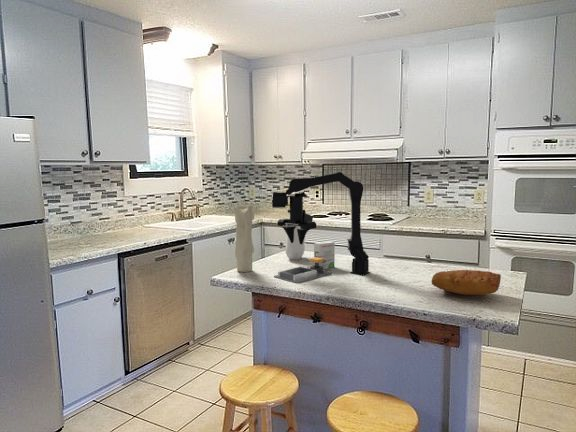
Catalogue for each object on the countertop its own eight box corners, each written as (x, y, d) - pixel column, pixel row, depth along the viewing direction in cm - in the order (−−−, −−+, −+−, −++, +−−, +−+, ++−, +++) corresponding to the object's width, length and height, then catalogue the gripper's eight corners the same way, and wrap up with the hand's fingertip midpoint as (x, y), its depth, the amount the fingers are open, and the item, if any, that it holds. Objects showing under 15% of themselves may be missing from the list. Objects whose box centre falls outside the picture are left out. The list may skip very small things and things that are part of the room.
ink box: (328, 265, 196) (328, 240, 195) (335, 267, 192) (335, 242, 191) (313, 268, 192) (313, 242, 190) (320, 270, 188) (320, 244, 186)
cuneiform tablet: (503, 293, 150) (504, 271, 149) (494, 305, 136) (496, 281, 136) (440, 283, 163) (441, 263, 162) (426, 294, 149) (427, 272, 148)
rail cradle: (332, 273, 180) (332, 267, 180) (297, 283, 166) (297, 276, 166) (308, 268, 190) (308, 263, 190) (274, 277, 176) (273, 271, 176)
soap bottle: (291, 255, 220) (290, 200, 217) (308, 257, 215) (308, 200, 212) (278, 260, 209) (277, 202, 206) (296, 262, 204) (295, 202, 201)
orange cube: (323, 266, 184) (323, 258, 183) (317, 268, 181) (317, 260, 180) (316, 265, 187) (316, 257, 186) (309, 266, 184) (309, 258, 183)
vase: (258, 270, 189) (256, 203, 186) (245, 274, 182) (244, 205, 179) (243, 267, 194) (241, 203, 190) (230, 271, 187) (229, 204, 183)
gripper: (325, 207, 178) (325, 243, 180) (294, 205, 192) (295, 238, 194) (306, 209, 171) (307, 247, 172) (276, 206, 184) (277, 242, 186)
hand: (296, 243), depth 181 cm, fingers open, 5 cm apart
